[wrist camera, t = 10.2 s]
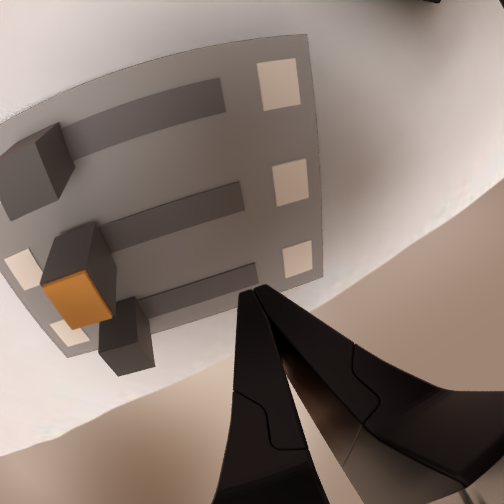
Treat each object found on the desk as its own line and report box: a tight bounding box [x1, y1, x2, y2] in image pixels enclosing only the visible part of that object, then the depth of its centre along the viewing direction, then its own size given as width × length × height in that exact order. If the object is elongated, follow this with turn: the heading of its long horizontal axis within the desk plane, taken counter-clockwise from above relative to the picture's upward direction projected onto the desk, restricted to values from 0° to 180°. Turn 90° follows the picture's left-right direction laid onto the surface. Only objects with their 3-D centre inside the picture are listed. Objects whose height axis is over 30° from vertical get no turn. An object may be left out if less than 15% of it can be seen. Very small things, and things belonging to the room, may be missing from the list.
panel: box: [0, 34, 323, 376], centre depth 12 cm, size 16×13×4 cm
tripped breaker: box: [39, 222, 117, 330], centre depth 11 cm, size 2×2×3 cm
